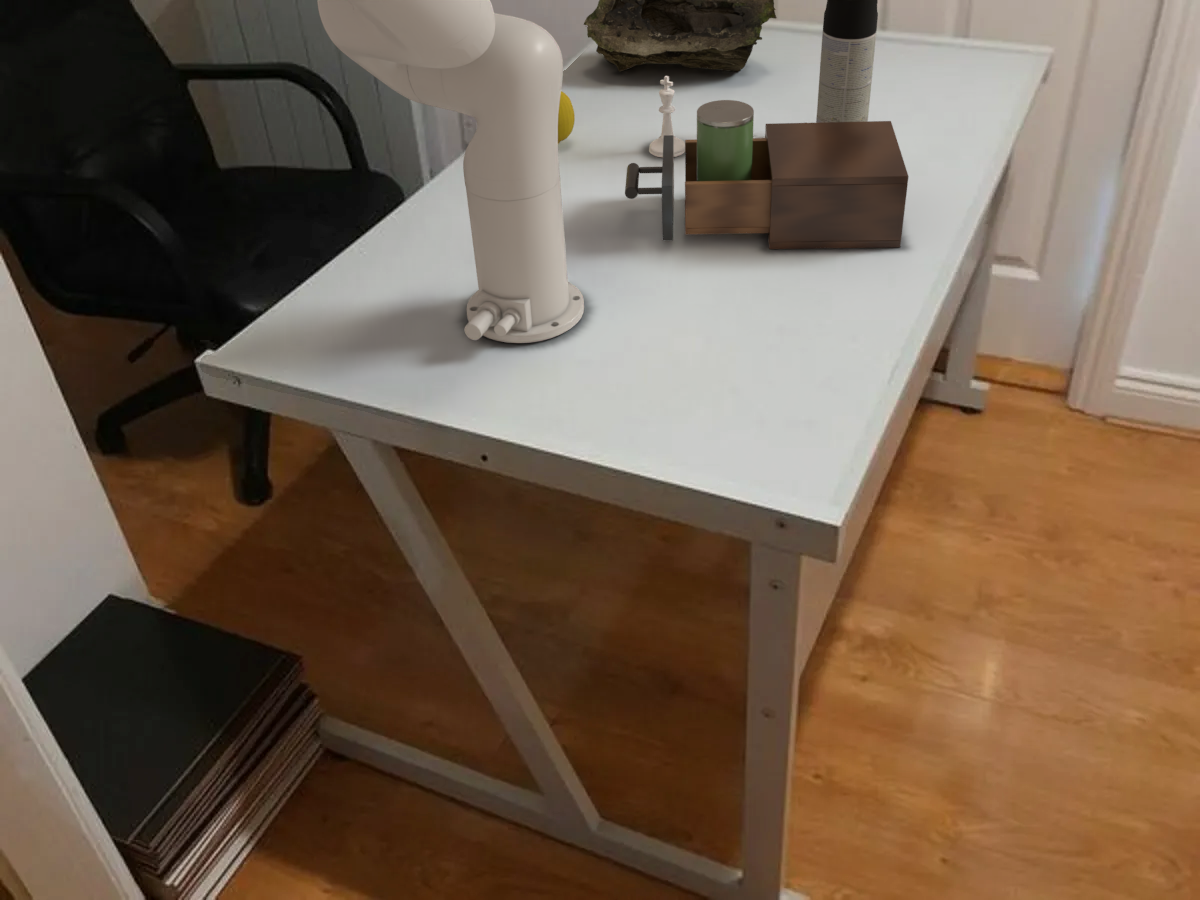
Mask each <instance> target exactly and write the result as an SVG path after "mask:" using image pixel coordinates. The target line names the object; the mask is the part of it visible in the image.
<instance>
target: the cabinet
mask: <svg viewBox="0 0 1200 900" xmlns="http://www.w3.org/2000/svg"><path fill="white" fill-rule="evenodd" d="M764 129H765V131H764V138H766V140H767V148H768V157H769V165H770V173H771V182H772V183H771V206H770V229H769V233H767V241H768V249H769V250H804V249H805V250H807V249H810V250H811V249H812V250H813V249H816V250H817V249H873V248H874V249H877V248H878V249H879V248H880V249H881V248H882V249H883V248H884V249H886V248H901V244H902V236H903V228H904V227H903V226H904V219H905V211H906V210H905V209H906V201H907V192H908V183H909V174H908V170H907V167H906V164H905V161H904V157H903V155H902V151H901V149H900V145H899V142H898V138H897V135H896V133H895V130H894V126H893V123H892V121H891V120H877V121H875V120H873V121H869V120H868V121H867V122H821V123H816V122H785V123H784V122H782V123H781V122H780V123H777V122H776V123H765V127H764Z"/></svg>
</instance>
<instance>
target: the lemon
mask: <svg viewBox="0 0 1200 900" xmlns="http://www.w3.org/2000/svg"><path fill="white" fill-rule="evenodd" d="M575 121H576V116H575V109H574V106H573V103H572V101H571V98H570V97H569V96H568V95H567V94H566V92H565V91H562V90H561V95H560V102H559V113H558V145H559V144H560V143H561V142H563V141H565V140H566V139H568V138H569V136H570V135H571V134H572V132H573V129H574V126H575Z"/></svg>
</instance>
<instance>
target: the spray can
mask: <svg viewBox="0 0 1200 900" xmlns="http://www.w3.org/2000/svg"><path fill="white" fill-rule="evenodd" d="M878 1H879V0H826V5H825V10H824V12H823V22H822V25H823V26H822V36H821V48H820V49H821V50H820V62H819V63H820V64H819V77H818V91H817V106H816V117H815V119H816V120H815V123H821V122H867V121H869V112H870V103H871V91H872V82H873V81H872V80H873V74H874V73H873V71H874V62H875V50H876V42H877V31H878V30H877V29H878V20H879V19H878V17H879V13H878Z"/></svg>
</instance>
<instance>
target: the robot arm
mask: <svg viewBox="0 0 1200 900" xmlns="http://www.w3.org/2000/svg"><path fill="white" fill-rule="evenodd" d="M316 2H317V9H318V15H319V18H320V20H321V21H320V22H321V24H322V26H323V29H324V30H325V32H326V34H327V36H328V37H329V39H330V40H331V42H332V43H333V45H335V47H336V48H337V49H338V50H339V51H341V52H342V53H343V54H344V55H345V56H347V57H348V59H350V60H352V61H353V62H354V63H355V64H357V65H358V66H360V67H361V68H362V69H364V70H365V71H366V72H368V73H369V74H371V75H372V76H373V77H374V78H376V79H378V81H380V82H382V83H383V84H384V85H386V86H387V87H388V88H389V89H391V90H392V91H394V92H395V93H397V94H399V95H401V96H402V97H404V98H405V99H407V100H409V101H412V102H415V103H418V104H422V105H425V106H429V107H432V108H433V107H434V108H438V109H442V110H446V111H451V112H456V113H460V114H462V115H465V116H469V117H472V118H473V119H475V121H476V130H475V132H474V134H473V136H472V138H471V139H470V140H469V142H468V144H467V147H466V148H465V151H464V155H463V160H462V161H463V163H462V168H463V169H462V171H463V181H464V185H465V192H466V199H467V200H466V201H467V208H468V209H467V210H468V216H469V222H470V223H469V224H470V231H471V238H472V246H473V247H472V248H473V254H474V264H475V271H476V279H477V287H478V290H476V291H475V292H474V293H473V294H472V295H471V296H470V298H469V299H468V301H467V304H466V317H467V321H468V322H467V323H466V325H464V333H465V335H466V337H467V338H468V339H470V340H472V341H479V340H480V339H481V338H482V337H485V338H487V339H490V340H493V341H497V342H500V343H501V342H502V343H503V342H504V343H508V344H530V343H537V342H543V341H546V340H549V339H552V338H555V337H558V336H560V335H562V334H564V333H566V332H568V331H569V330H571V329H572V328H573V327H574V326H576V325H577V324H578V323H579V322H580V321H581V319H582V318H583V315H584V313H585V301H584V296H583V293H582V292H581V290H580V289H579V288H578V287H577V286H576V285H574V284H572V283H571V282H570V281H569V278H568V265H567V264H568V263H567V251H566V250H567V249H566V237H565V223H564V210H563V195H562V182H561V175H560V174H561V172H560V158H559V156H560V155H559V144H558V113H559V102H560V95H561V91H562V86H563V79H564V78H563V76H564V61H563V54H562V51H561V48H560V46H559V44H558V42H557V40H556V39H555V38H554V37H553V36H552V34H551V33H550V32H549V31H548V30H546V29H545V28H543V27H542V26H540V25H539V24H537V23H535V22H533V21H530V20H527V19H525V18H521V17H517V16H513V15H508V14H503V13H502V14H501V13H496V12H495V11H494V7H493V4H492V2H491V0H317V1H316Z"/></svg>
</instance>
